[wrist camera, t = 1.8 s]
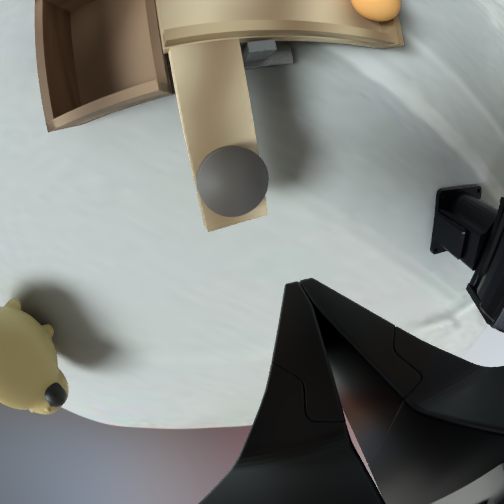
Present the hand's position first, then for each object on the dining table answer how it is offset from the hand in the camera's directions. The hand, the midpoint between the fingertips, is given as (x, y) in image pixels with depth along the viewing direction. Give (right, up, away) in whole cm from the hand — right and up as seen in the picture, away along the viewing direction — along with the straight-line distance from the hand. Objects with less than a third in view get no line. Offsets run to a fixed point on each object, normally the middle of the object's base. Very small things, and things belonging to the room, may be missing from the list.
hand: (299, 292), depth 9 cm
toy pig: (-25, -7, +15) cm, 30 cm away
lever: (+1, +12, +5) cm, 13 cm away
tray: (-11, +15, +5) cm, 19 cm away
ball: (+6, +16, +2) cm, 18 cm away
